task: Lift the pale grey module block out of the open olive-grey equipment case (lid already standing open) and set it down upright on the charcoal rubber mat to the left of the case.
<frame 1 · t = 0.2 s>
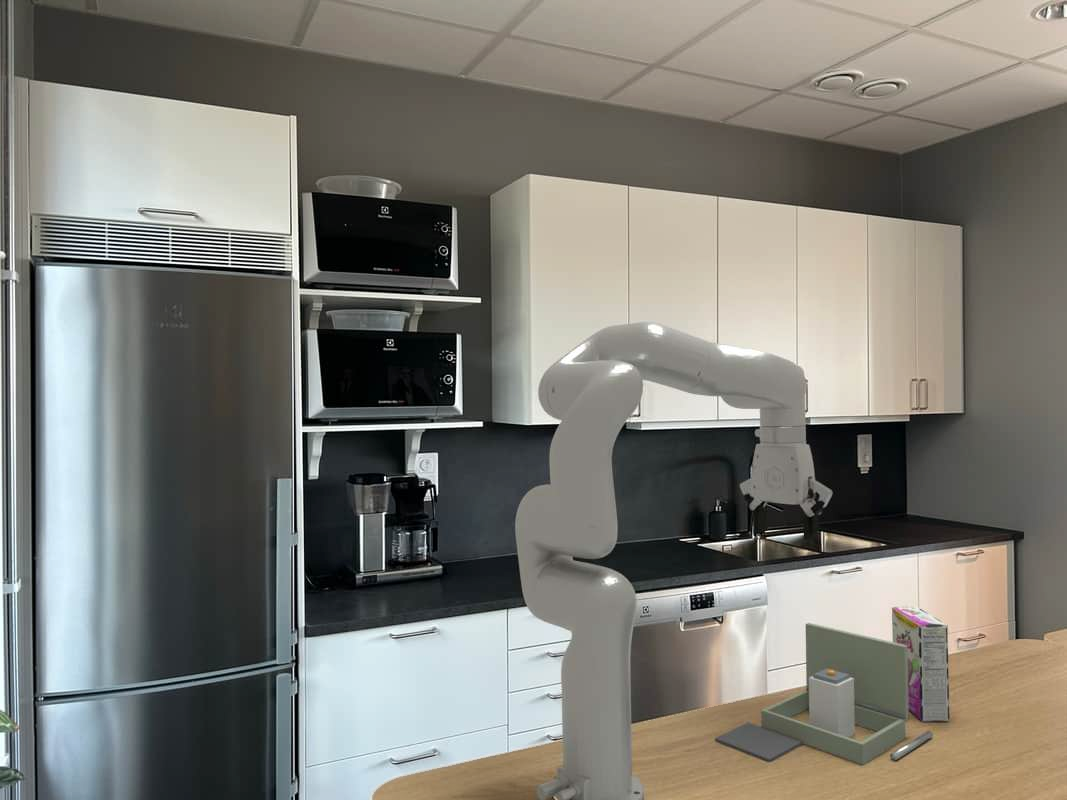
hand: (785, 535, 138), 30 cm above the table, fingers open, 9 cm apart
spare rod: (912, 748, 123), on the table
case: (832, 733, 129), on the table
candy bar box: (920, 710, 138), on the table
mat: (758, 742, 126), on the table
module: (832, 733, 129), resting in case
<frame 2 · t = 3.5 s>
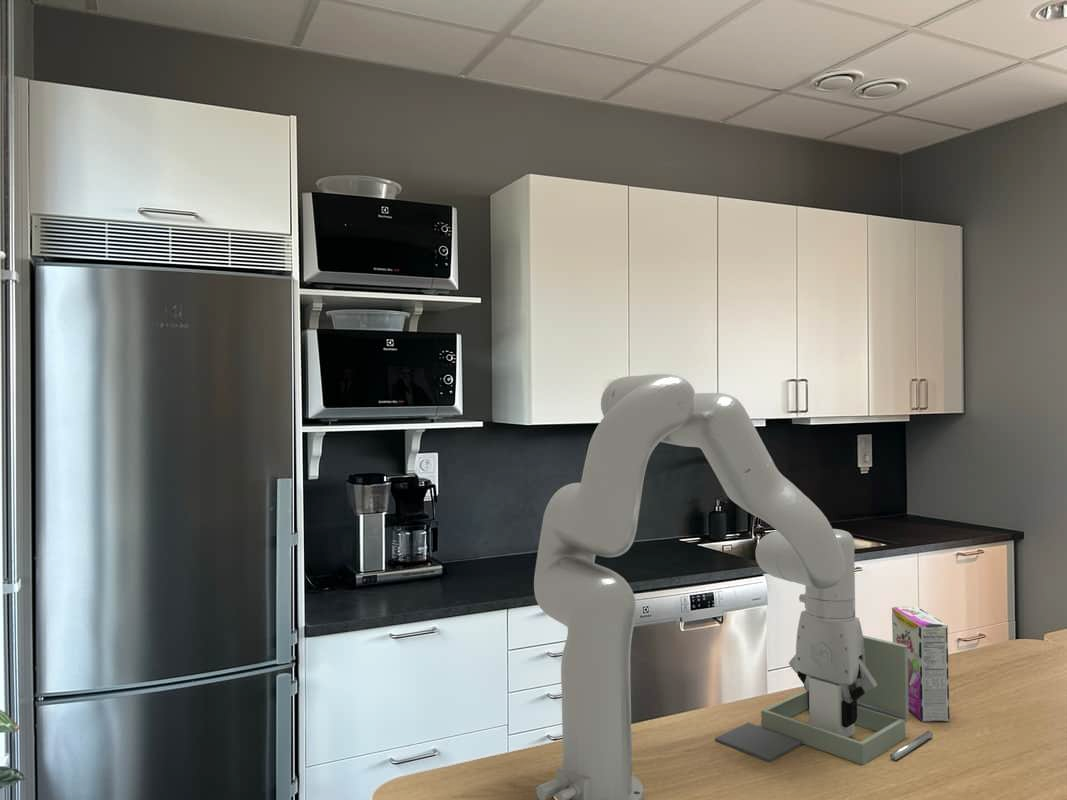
hand: (832, 718, 129), 2 cm above the table, fingers closed on module, 5 cm apart
module: (832, 733, 129), resting in case, touching gripper
everything else where it was.
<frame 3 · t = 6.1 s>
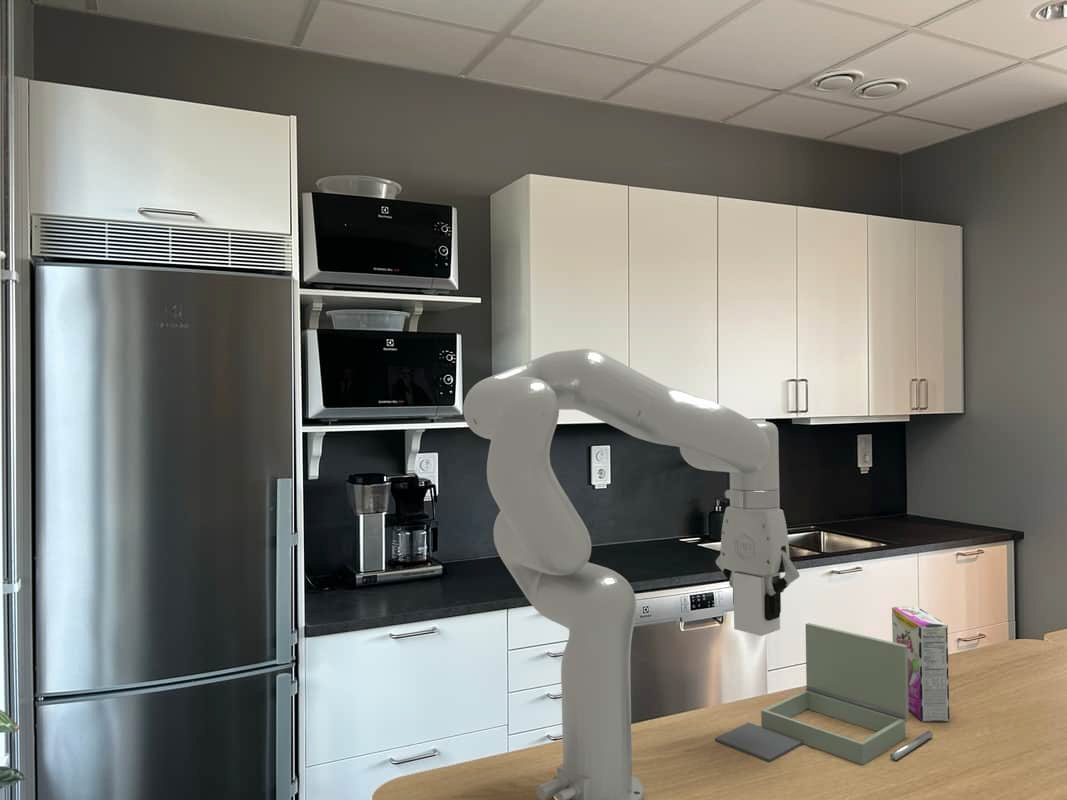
hand: (756, 613, 126), 20 cm above the table, fingers closed on module, 5 cm apart
module: (757, 629, 126), point 18 cm above the table, touching gripper
everything else where it was.
when the fingers open (4 cm above the table, at t = 8.8 s): module drops 1 cm, resting on mat.
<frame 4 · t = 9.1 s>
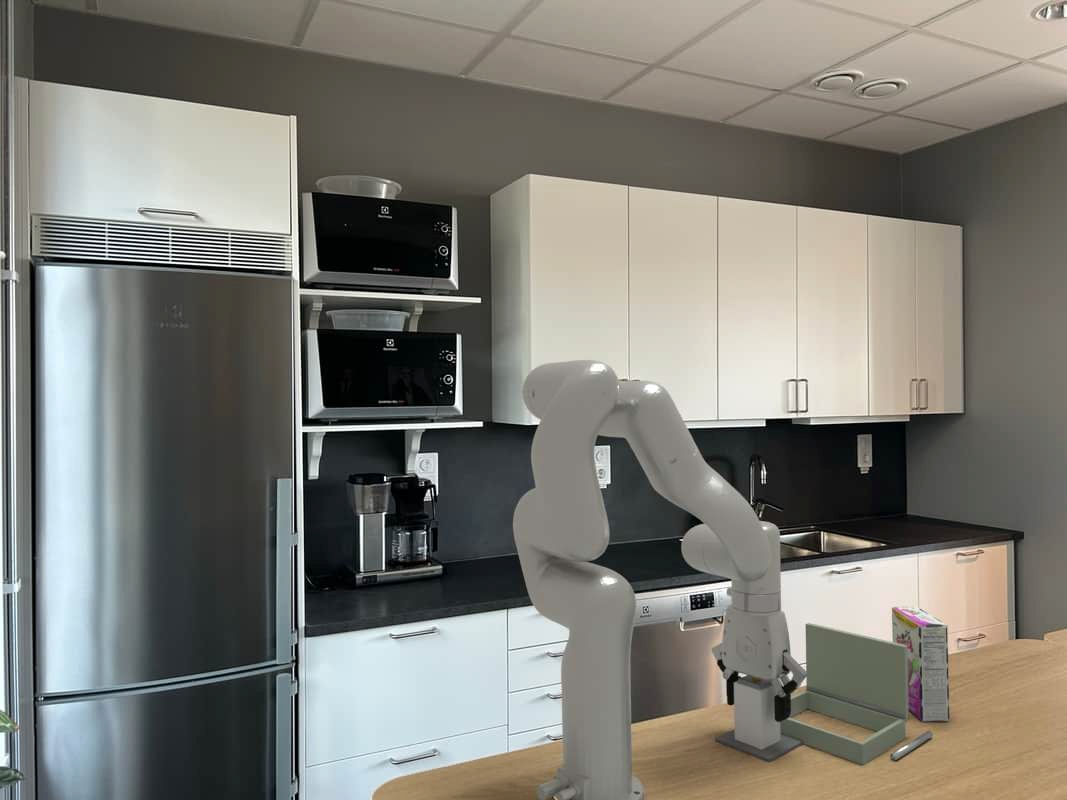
hand: (757, 710, 126), 5 cm above the table, fingers open, 8 cm apart
module: (757, 739, 126), resting on mat
everything else where it was.
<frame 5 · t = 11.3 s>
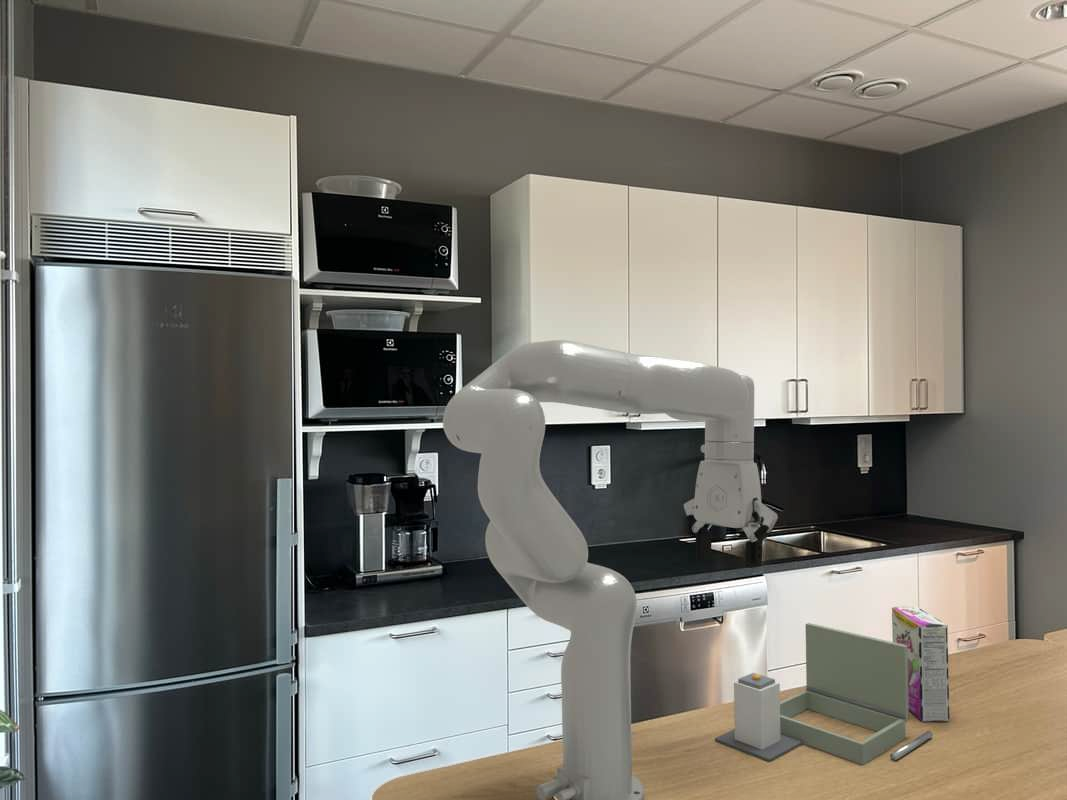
hand: (727, 561, 126), 29 cm above the table, fingers open, 9 cm apart
nothing on the table moved.
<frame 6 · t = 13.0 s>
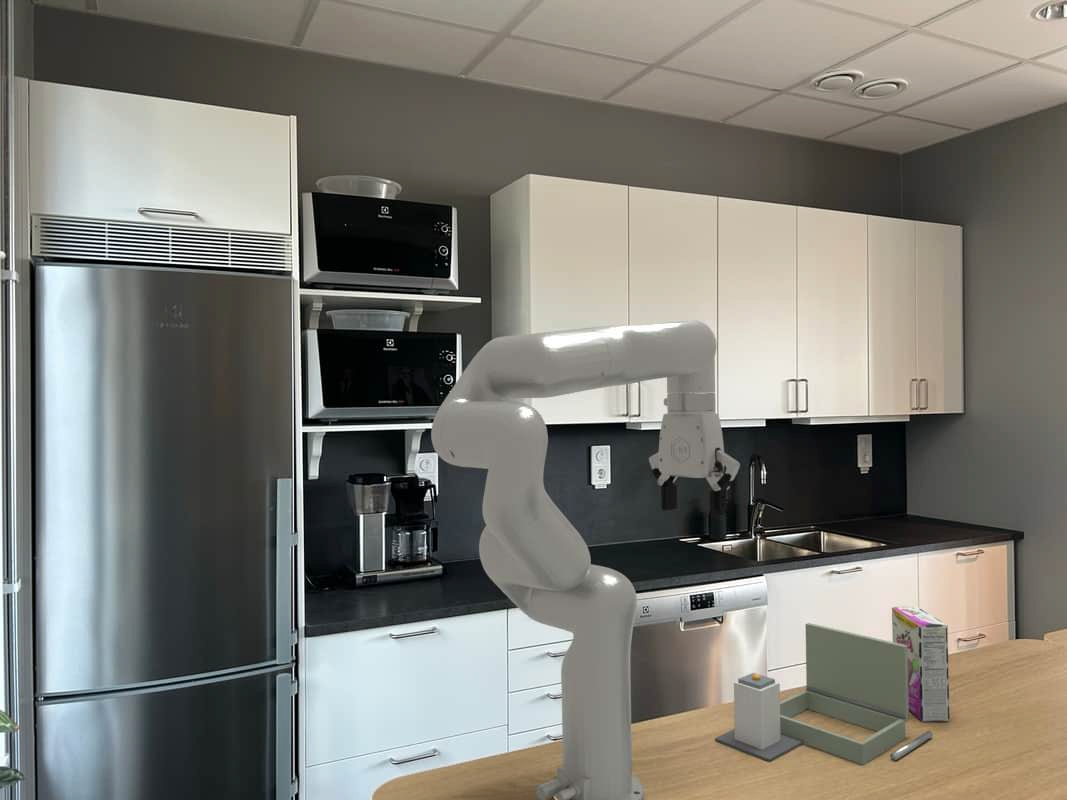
hand: (693, 512, 127), 36 cm above the table, fingers open, 9 cm apart
nothing on the table moved.
at the end: module inside the target area on the mat (0.1 cm from its centre), point 0.4 cm above the mat's base; module tilted 0°; the gripper is holding nothing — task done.
